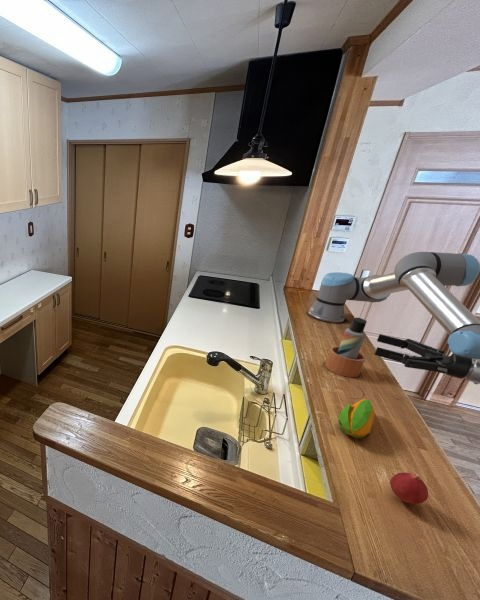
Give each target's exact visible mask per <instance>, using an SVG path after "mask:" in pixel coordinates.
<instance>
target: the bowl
mask: <svg viewBox="0 0 480 600" xmlns="http://www.w3.org/2000/svg"><path fill="white" fill-rule="evenodd" d="M339 347H340V345H338V346H337V345H336V346H335V345H334V346H331V347H330V349H329V351H328V354H327V357H326V360H325V364H324V365H325V367H326V368H327V370H328V371H331V372H332V373H334V374H337V375H339V376H342V377H343V376H344V377H347V378H356V377H359V376H360V374H361V371H362V368H363V366H364V364H365V362H366V355H364V354H363V353H361V352H360V351H359V354H358V356H357V359H356V360H355V359H349V358H346V357H343V356H340V355H338V354H337V353H338V350H339Z"/></svg>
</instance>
